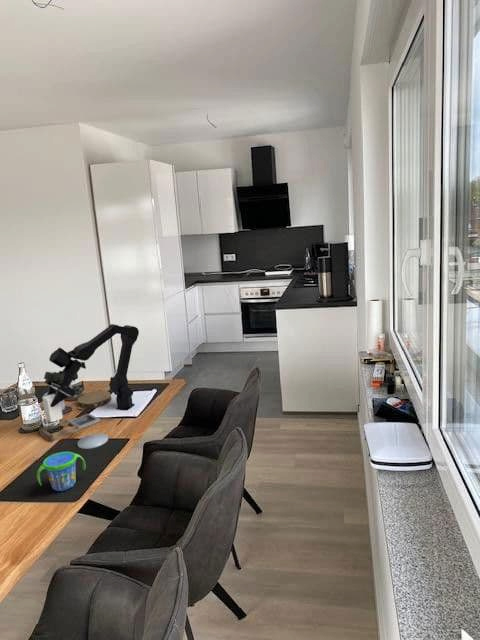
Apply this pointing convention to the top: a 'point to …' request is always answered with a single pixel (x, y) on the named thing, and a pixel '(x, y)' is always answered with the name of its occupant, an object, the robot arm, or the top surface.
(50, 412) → the white block
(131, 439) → the top surface
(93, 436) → the pad
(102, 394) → the brown round slab
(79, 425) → the trap pit
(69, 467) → the snack cup
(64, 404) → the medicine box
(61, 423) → the walnut channel
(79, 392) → the medicine bottle
